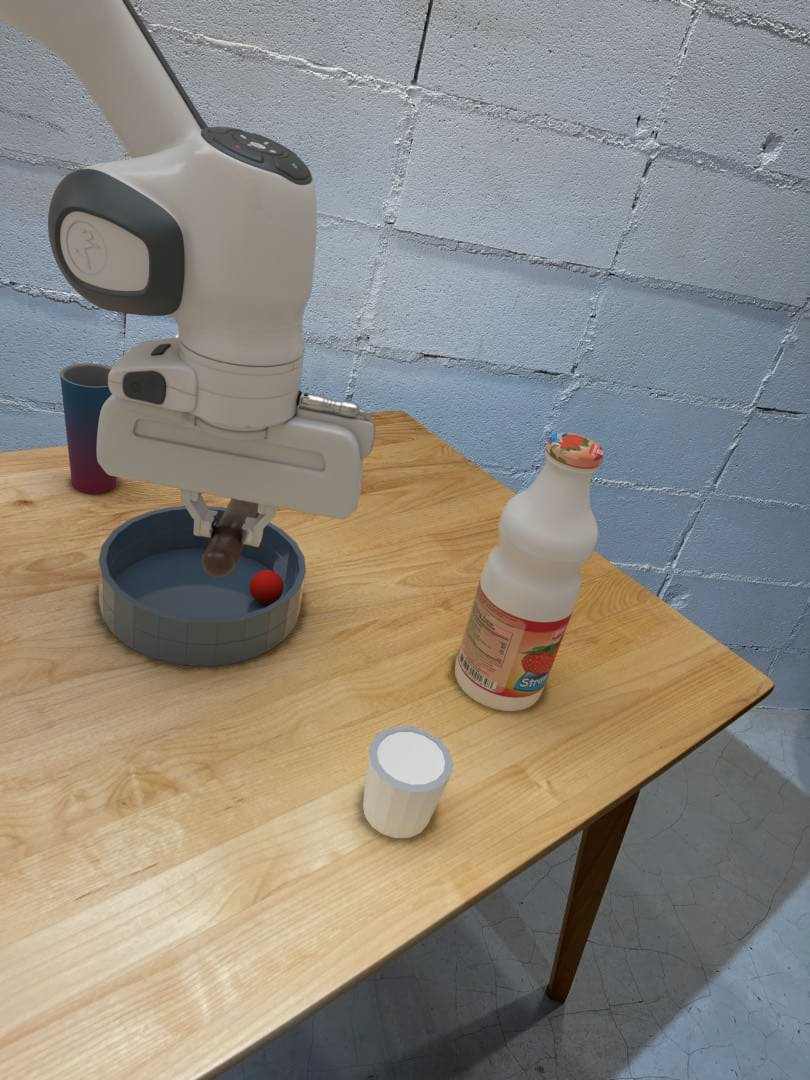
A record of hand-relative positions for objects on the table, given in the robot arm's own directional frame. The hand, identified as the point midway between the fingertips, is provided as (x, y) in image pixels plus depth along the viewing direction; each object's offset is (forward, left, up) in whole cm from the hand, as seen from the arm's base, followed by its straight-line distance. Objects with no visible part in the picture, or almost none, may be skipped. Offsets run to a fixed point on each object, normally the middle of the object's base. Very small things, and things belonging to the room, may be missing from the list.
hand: (227, 537), depth 67 cm
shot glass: (+18, -10, -18) cm, 27 cm away
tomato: (+1, +14, -15) cm, 21 cm away
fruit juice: (+27, +9, -18) cm, 34 cm away
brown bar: (0, +2, -2) cm, 3 cm away
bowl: (-5, +12, -18) cm, 22 cm away
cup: (-24, +30, -18) cm, 43 cm away
